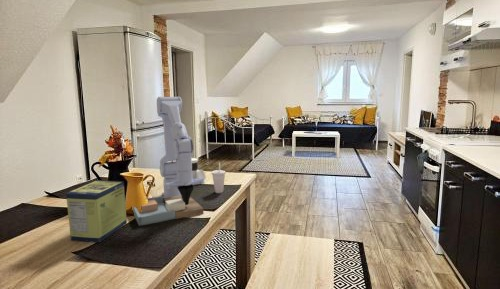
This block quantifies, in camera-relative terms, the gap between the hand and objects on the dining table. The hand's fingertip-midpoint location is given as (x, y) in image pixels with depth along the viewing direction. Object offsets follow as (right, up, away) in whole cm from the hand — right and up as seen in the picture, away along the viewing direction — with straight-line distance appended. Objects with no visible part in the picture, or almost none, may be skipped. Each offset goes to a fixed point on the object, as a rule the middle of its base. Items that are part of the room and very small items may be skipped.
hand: (185, 204), depth 122 cm
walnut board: (-2, -2, +4) cm, 5 cm away
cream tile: (-4, -1, -2) cm, 4 cm away
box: (-13, -3, -1) cm, 13 cm away
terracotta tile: (-15, -2, +2) cm, 16 cm away
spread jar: (-4, +3, +43) cm, 43 cm away
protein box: (-25, -6, -17) cm, 31 cm away
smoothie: (+10, +1, +24) cm, 27 cm away
